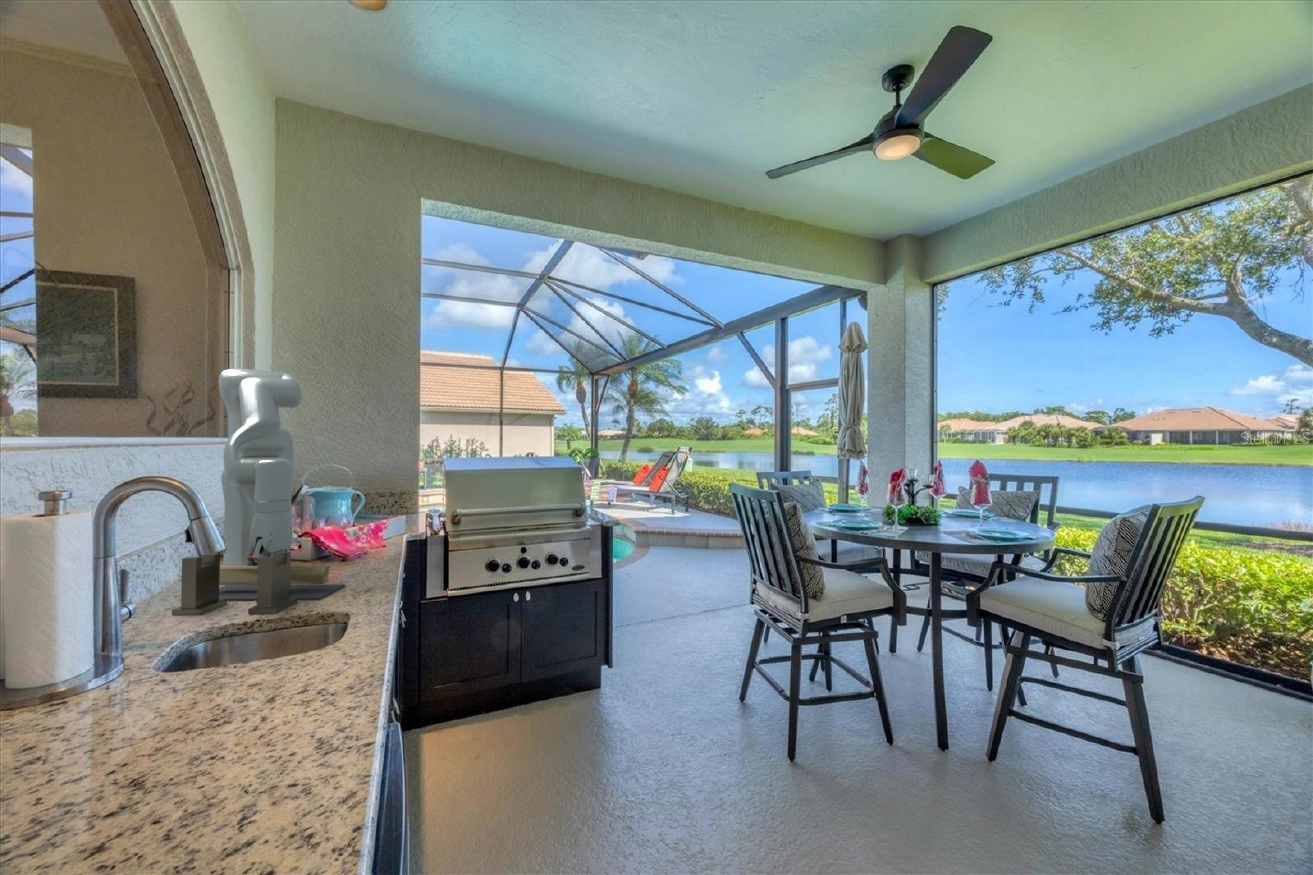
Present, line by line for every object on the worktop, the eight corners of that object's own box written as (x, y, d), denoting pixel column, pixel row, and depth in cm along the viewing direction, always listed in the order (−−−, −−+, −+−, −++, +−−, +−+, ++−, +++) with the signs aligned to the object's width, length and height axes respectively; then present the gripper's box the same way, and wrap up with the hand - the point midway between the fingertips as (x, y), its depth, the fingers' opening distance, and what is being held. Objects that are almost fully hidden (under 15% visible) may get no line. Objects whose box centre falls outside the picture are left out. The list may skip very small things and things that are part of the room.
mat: (226, 587, 137) (226, 585, 137) (344, 586, 139) (344, 584, 139) (189, 601, 125) (189, 598, 125) (319, 600, 127) (319, 597, 127)
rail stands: (200, 603, 123) (201, 551, 123) (297, 602, 125) (298, 551, 125) (171, 615, 115) (173, 558, 115) (276, 614, 117) (277, 558, 117)
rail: (222, 581, 132) (222, 566, 133) (328, 581, 135) (329, 565, 135) (213, 585, 129) (213, 568, 130) (322, 584, 132) (322, 568, 132)
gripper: (278, 503, 140) (277, 572, 140) (234, 511, 124) (232, 588, 124) (307, 503, 141) (306, 571, 141) (267, 511, 125) (266, 588, 124)
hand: (271, 578), depth 132 cm, fingers closed on rail, 3 cm apart
